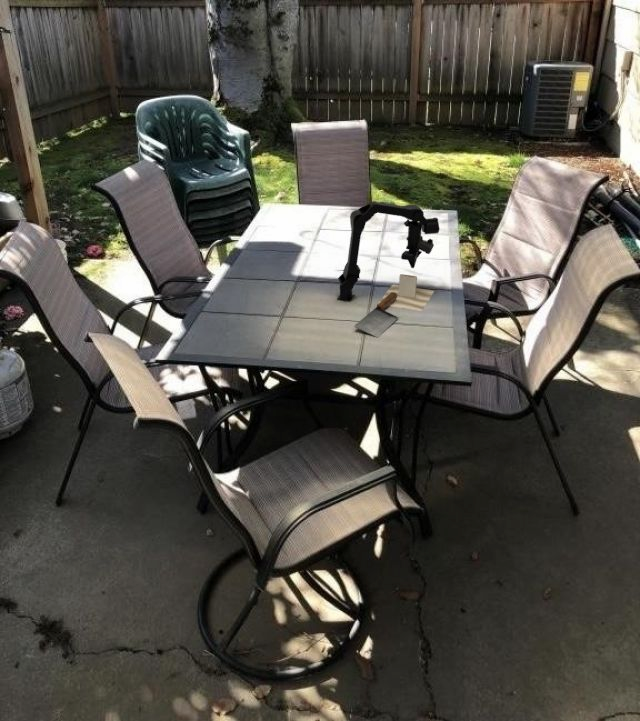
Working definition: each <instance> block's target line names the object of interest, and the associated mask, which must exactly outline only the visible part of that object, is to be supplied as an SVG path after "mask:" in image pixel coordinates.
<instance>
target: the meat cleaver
mask: <svg viewBox="0 0 640 721" xmlns="http://www.w3.org/2000/svg"><path fill="white" fill-rule="evenodd" d="M396 298H397V294H396V293H395V292H391V293H390V295H388V296H387V297H386V298H384V299H383V300H382V301H381V302H380V303H379V302H378V303H377V304H376V306H375V308H373V309H372V311H370V312H369V313H368V314H366V316H364V317H363V318H361V319H360V320H359V321H358V322H357V323H355V325H354V329H357V330H360V331H362V332H364V333H367V334H368V335H372V336H373V337H374V338H375V337H376V338H379V337H380V336H381V335H382V334H384V332H385V331H386V330H387V329H388V328H389V327H390V326H391V325H393V323H395V322H396V321H397V320H398V319H399V317H398V316H396V315H395V314H392V313H390V312H388V311H386V310H385V309H386V308H388V307H389V306H388V305H390V304H391V303H392V302H393V301H394V300H395V299H396Z"/></svg>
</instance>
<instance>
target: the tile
mask: <svg viewBox="0 0 640 721" xmlns="http://www.w3.org/2000/svg"><path fill="white" fill-rule="evenodd" d="M398 277H399V278H398V279H399V280H398V282H399V283H398V285H399V296H402V297H409V298H415V297H416V288H417V283H418V282H417V280H418V277H417V276H416V275H411V274H410V275H409V274H403V273H402V274H399V276H398Z"/></svg>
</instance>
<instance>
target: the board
mask: <svg viewBox="0 0 640 721" xmlns="http://www.w3.org/2000/svg"><path fill="white" fill-rule="evenodd" d="M391 292H395V293H396V294H397V298H396V299H395V300H394V301H393V302H392V303H391V304H390V305H388V306H387V307H392V308H393V307H394V308H399V309H406V310H411V311H412V310H413V311H418V312H422V311H423V310H424V309H425V307H426V305H427V304H428V302H429V300H430V299H431V297H432V296H433V295H434V292H435V290H431V289H425V288H419V287H416V297H415V298H409V297H402V296H399V284H392V285H391V286H390V287H389V288H388V290H387V291H386V293H385V294H384V295H383V296H382V298H381V299H380V300H379V302H378V303H380V302H381V301H382V300H383V299H384V298H386V297H387V296H388V295H390V293H391Z"/></svg>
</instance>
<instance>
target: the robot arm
mask: <svg viewBox="0 0 640 721" xmlns="http://www.w3.org/2000/svg"><path fill="white" fill-rule="evenodd" d="M378 213H379V214H384V215H391V216H395V217H402V218H404V219H407V220H406V221H404V222H403V225H404V226H405V227H406V228H407V229H408V230H407V237H406V241H407V244H406V247H405V248H406V249H405V250H404V251H403V252H402V253H401V256H400V259H401V260H402V261H403V260H404V261H407V262H408V264H409V265H410V268H411V269H415V267H416V263H417V259H418V258H419V257H420V255H421V254H422V253H425V254H427V255H430V254H431V252H432V251H433V248H434V246H435V244H434V240H433V239H432V238H428V240H427V239H424V237H423V235H422V233H424V235H431V234H432V235H434V234H439V233H440V225H439V224H440V223H439V219H438V217H430V218H426V217H425V215H424V214H425V213H424V210H422V208H421V207H420V206H419V205H417V204H406V205H399V204H391V203H385V202H379V201H375V200H373V201H371V202H370V203H367V204H366V205H364V206H361V207H359V208H358V209H355V210H353V211H352V212H351V213H350V215H349V218H350V221H349V222H350V224H349V225H350V230H351V232H350V239H349V247H348V255H347V261H346V263H345V266H344V268H343V272H342V274H340V275H339V277H338V282H339V295H338V297H337V298H336V300H337V301H345V302H351V301H352V300H353V299H354V298H355V297H356V295H355V294H353V288H354V287H355V284H356V283H358V281H359V279H361V278H360V273H361V268H360V266H359V264H358V260H359V252H360V244H361V237H362V233H363V231H364V229H365V228H366V224H367V222H369V221H370V220H371V219H372V218H373V217H374V216H376V214H378Z"/></svg>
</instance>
